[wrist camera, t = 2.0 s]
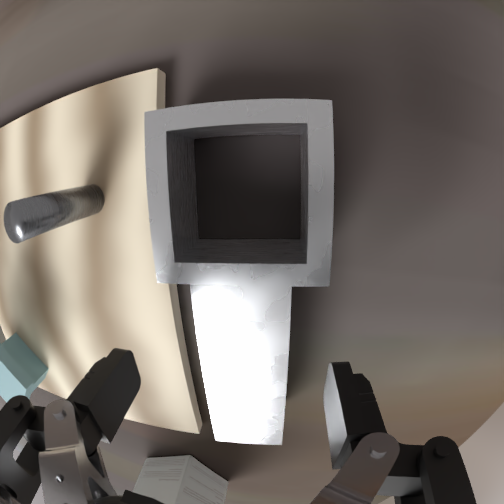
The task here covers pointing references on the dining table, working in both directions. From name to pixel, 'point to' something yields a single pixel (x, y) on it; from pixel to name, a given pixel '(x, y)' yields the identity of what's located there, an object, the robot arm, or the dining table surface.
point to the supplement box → (180, 481)
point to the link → (240, 255)
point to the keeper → (19, 369)
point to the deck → (94, 250)
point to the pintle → (50, 211)
